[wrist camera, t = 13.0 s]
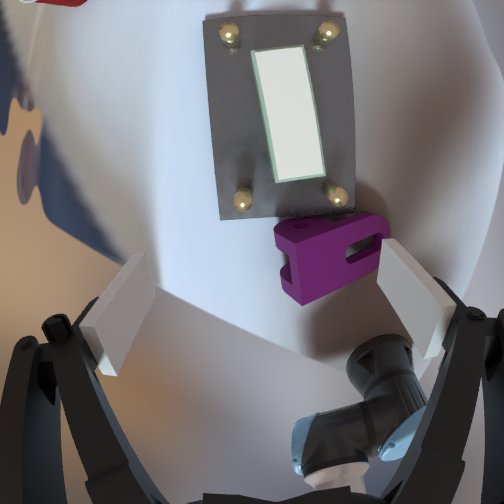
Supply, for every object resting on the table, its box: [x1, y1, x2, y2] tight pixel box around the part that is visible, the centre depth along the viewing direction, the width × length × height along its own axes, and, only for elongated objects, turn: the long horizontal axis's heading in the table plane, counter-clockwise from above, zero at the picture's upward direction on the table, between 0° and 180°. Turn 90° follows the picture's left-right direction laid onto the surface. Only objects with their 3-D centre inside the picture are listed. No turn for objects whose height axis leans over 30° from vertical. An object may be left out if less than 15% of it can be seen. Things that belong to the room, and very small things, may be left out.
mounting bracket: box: [274, 212, 390, 306], centre depth 44 cm, size 9×8×18 cm
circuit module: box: [250, 45, 326, 183], centre depth 33 cm, size 16×6×8 cm, turn 10°
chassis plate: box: [203, 15, 355, 220], centre depth 35 cm, size 30×20×6 cm, turn 4°
